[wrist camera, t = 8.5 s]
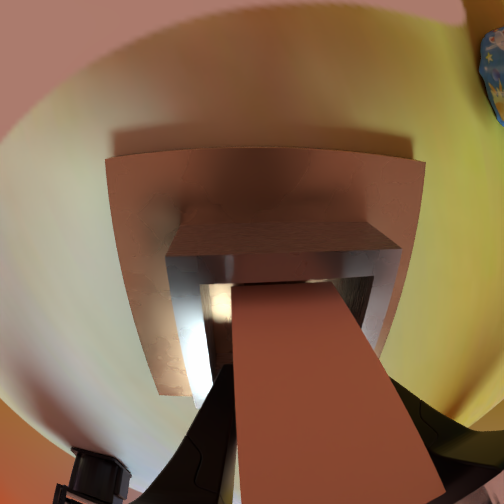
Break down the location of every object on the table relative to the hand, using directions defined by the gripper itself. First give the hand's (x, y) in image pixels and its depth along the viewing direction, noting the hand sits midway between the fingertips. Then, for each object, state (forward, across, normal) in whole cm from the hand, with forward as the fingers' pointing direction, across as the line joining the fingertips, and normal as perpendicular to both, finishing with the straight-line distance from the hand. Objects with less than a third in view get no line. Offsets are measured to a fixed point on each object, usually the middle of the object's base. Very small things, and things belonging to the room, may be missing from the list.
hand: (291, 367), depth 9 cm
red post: (+2, 0, 0) cm, 2 cm away
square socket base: (+5, 0, 0) cm, 5 cm away
